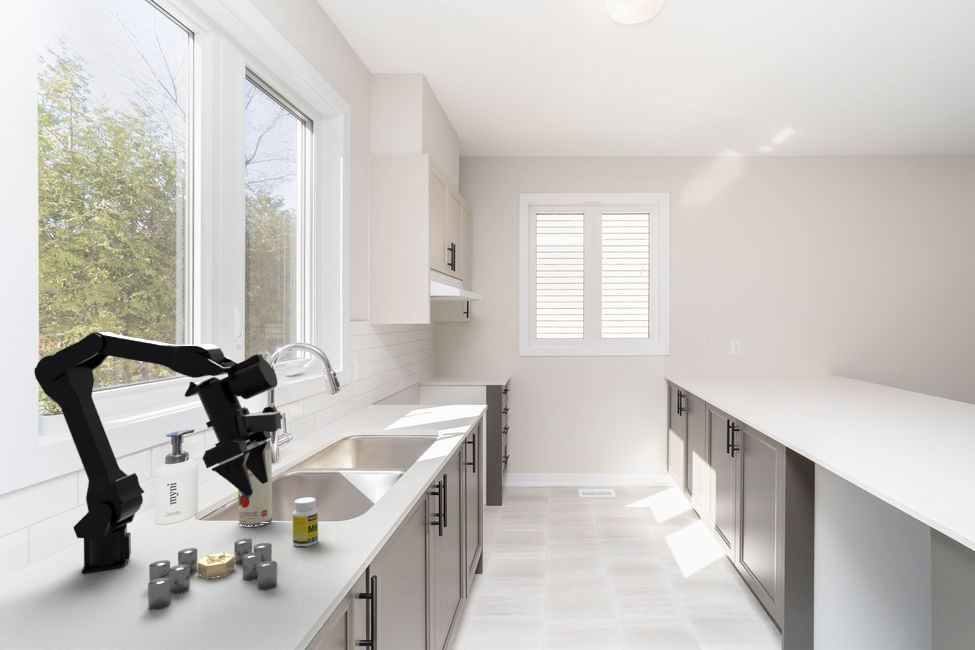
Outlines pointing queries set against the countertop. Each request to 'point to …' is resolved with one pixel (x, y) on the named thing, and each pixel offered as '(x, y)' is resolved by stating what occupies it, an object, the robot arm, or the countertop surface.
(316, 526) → the supplement bottle
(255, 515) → the aerosol can
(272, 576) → the spacers
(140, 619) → the countertop surface
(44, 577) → the countertop surface
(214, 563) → the wooden star-faceted hexagon
